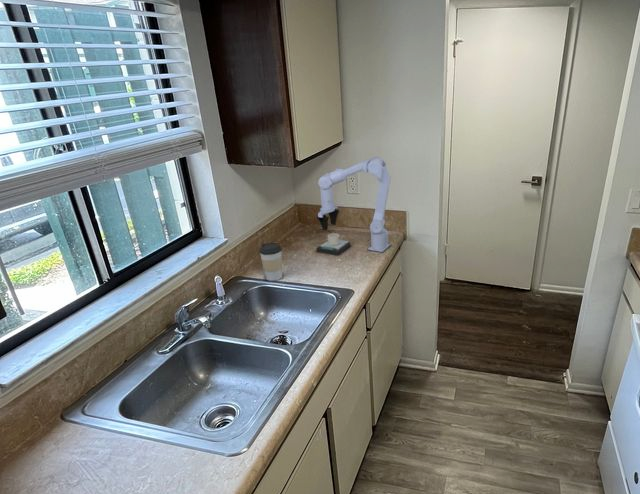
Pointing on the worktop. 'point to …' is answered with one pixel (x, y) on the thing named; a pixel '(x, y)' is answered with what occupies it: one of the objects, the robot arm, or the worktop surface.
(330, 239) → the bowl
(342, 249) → the scale
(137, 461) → the worktop surface
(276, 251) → the coffee cup
